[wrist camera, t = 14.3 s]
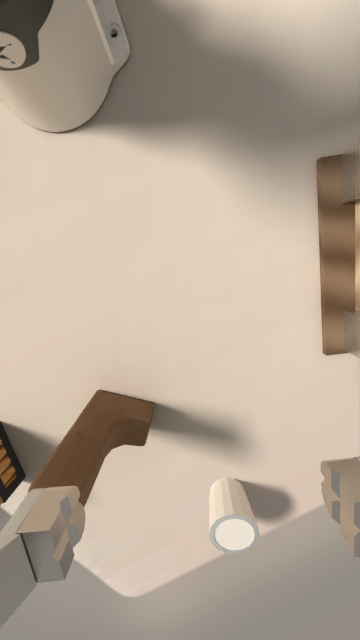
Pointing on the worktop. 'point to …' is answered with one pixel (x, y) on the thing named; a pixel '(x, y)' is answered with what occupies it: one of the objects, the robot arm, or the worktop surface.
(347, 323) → the end caps
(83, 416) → the wooden block
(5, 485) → the ammunition clip
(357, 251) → the pine slat
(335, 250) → the base board
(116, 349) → the worktop surface
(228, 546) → the white cylinder
